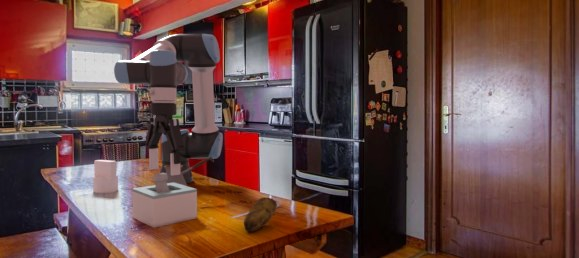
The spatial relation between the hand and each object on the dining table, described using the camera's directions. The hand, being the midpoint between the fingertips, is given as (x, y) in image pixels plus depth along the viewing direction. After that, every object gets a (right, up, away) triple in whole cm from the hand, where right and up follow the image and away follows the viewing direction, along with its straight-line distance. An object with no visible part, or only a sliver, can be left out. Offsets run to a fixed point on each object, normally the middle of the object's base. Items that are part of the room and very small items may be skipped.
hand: (164, 172), depth 120 cm
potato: (+30, -15, -8) cm, 34 cm away
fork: (+27, -15, +8) cm, 32 cm away
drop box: (0, -14, +1) cm, 14 cm away
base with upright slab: (-35, -12, +38) cm, 53 cm away
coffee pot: (+1, -13, +24) cm, 27 cm away
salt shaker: (0, -14, +1) cm, 14 cm away
